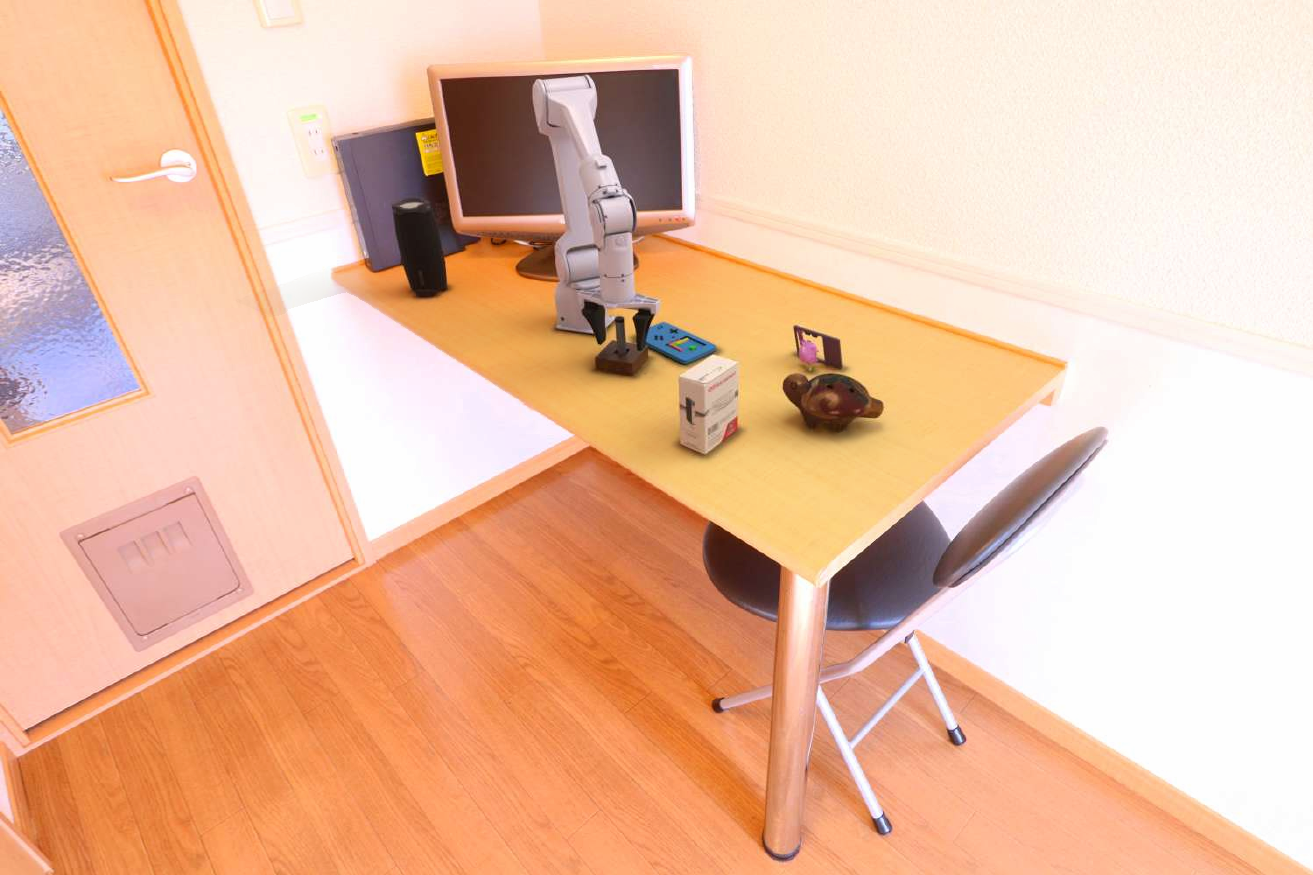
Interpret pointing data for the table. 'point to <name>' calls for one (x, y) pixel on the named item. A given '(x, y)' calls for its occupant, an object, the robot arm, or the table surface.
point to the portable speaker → (420, 246)
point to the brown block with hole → (621, 359)
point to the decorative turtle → (830, 399)
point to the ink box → (708, 403)
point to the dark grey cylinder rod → (620, 335)
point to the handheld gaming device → (677, 343)
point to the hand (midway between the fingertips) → (621, 345)
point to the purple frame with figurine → (810, 350)
